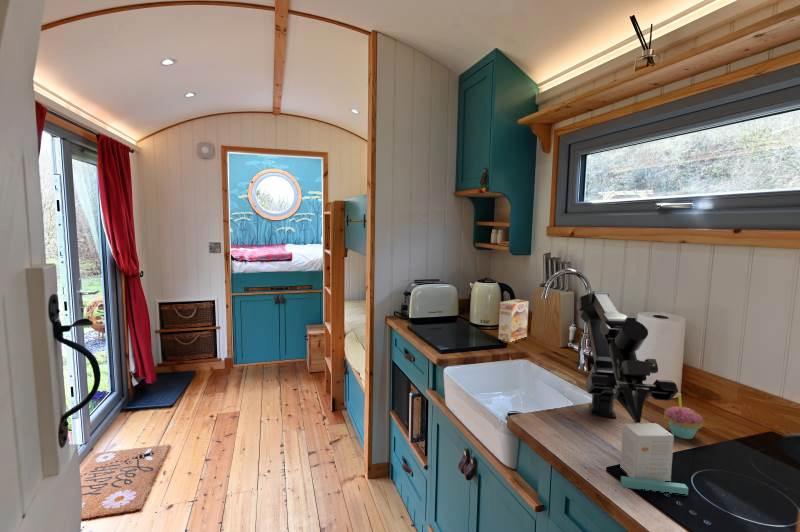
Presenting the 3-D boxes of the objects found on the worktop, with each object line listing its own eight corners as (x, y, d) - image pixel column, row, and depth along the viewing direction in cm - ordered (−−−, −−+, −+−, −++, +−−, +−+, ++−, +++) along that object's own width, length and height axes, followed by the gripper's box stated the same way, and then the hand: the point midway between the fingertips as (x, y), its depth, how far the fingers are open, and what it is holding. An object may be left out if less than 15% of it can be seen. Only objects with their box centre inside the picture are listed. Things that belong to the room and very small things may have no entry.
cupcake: (684, 444, 101) (688, 398, 100) (654, 428, 109) (657, 385, 108) (710, 440, 104) (714, 395, 103) (679, 425, 112) (682, 382, 111)
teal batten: (620, 482, 85) (621, 476, 85) (684, 490, 83) (684, 484, 83) (623, 487, 84) (623, 480, 84) (687, 495, 81) (688, 488, 81)
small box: (653, 467, 91) (657, 422, 90) (671, 483, 86) (675, 435, 85) (619, 467, 91) (622, 422, 90) (634, 483, 85) (637, 435, 84)
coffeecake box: (510, 345, 187) (512, 304, 186) (497, 342, 193) (499, 301, 191) (527, 340, 197) (529, 300, 196) (514, 337, 203) (516, 298, 201)
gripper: (592, 342, 98) (602, 404, 89) (677, 347, 95) (698, 413, 85) (582, 363, 107) (591, 422, 97) (660, 369, 103) (678, 431, 93)
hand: (638, 422), depth 93 cm, fingers closed
